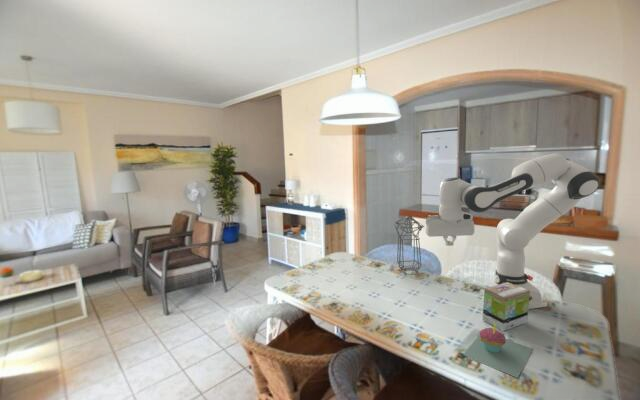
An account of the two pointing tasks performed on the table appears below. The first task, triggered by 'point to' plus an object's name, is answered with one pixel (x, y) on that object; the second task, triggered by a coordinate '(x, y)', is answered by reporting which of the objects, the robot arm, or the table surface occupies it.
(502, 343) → the cupcake
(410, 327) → the table surface
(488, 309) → the tea box
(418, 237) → the geometric lantern
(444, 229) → the robot arm
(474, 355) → the mat
